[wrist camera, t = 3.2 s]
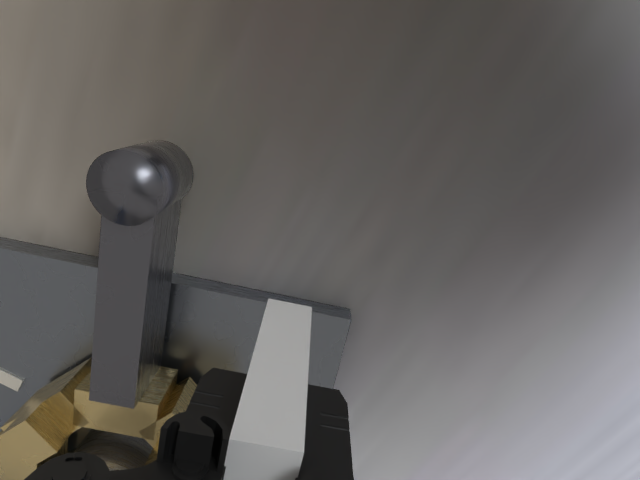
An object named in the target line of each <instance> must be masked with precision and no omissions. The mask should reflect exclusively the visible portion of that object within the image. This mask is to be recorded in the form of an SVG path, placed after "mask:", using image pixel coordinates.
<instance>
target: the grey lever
mask: <svg viewBox="0 0 640 480" xmlns="http://www.w3.org/2000/svg"><path fill="white" fill-rule="evenodd" d="M192 182H193V168H192V164H191V162H190V160H189V158H188V156H187V155H186V154H185V152H184V151H183V150H182V149H180V148H179V147H178V146H176V145H175V144H173V143H170V142H167V141H162V140H155V141H150V142H146V143H142V144H138V145H134V146H129V147H125V148H121V149H117V150H113V151H109V152H106V153H104V154H102V155H101V156H99V157H98V158H97V159H96V160H95V161H94V162H93V163H92V165H91V166H90V168H89V170H88V174H87V179H86V187H87V192H88V196H89V198H90V201H91V202H92V204H93V206H94V207H95V209H96V210H97V211H98V212H99V213H100V214H101V215H102V216H101V231H100V245H99V260H98V274H97V289H96V304H95V318H94V333H93V348H92V357H91V358H89V359H88V360H86V361H84V362H83V363H81V364H80V365H78V366H76V367H75V368H73V369H72V370H70V371H68V372H67V373H65V374H63V375H62V376H60V377H59V378H57V379H55V380H54V381H52V382H51V383H49V384H47V385H46V386H44V387H42V388H41V389H39V390H38V391H37V392H36V393H35V394H34V395H33V396H32V397H31V398H30V399H29V400H28V401H27V402H26V403H25V404H24V405H23V406H22V407H21V408H20V409H19V410H18V411H17V412H16V413H15V414H14V415H13V416H12V417H11V418H10V419H9V420H8V421H7V422H6V423H5V424H4V425H3V426H2V427H1V429H2V431H1V432H0V480H24V479H25V478H26V477H28V476H29V475H30V474H31V473H32V472H33V471H35V470H36V469H37V468H38V467H39V466H41V465H42V464H44V463H46V462H47V461H49V460H50V459H52V458H54V457H57V456H60V455H63V454H66V453H68V437H69V436H70V435H71V434H72V433H73V432H74V431H76V430H78V429H80V428H81V427H86V428H91V429H96V430H102V431H107V432H112V433H118V434H123V435H128V436H134V437H139V438H144V439H145V440H146V441H147V442H148V443H149V444H150V445H151V446H152V447H153V449H152V451H151V453H150V455H149V457H148V459H147V461H146V463H145V465H147V464H150V463H152V462H154V461H155V460H157V453H158V445H159V438H160V430H161V427H162V426H163V424H164V423H165V422H166V421H167V420H168V419H169V418H171V417H173V416H174V415H176V414H178V413H182V412H186V409H187V407H188V405H189V404H190V400H191V398H192V396H193V394H194V392H195V389H196V387H197V384H196V383H195V382H194V381H193V379H192V378H191V377H188V378H186V379H185V380H183V381H181V382H179V383H178V384H176V382H177V375H178V370H177V369H172V368H167V367H162V366H161V361H162V353H163V345H164V337H165V328H166V320H167V312H168V304H169V296H170V288H171V280H172V272H173V264H174V256H175V248H176V240H177V232H178V224H179V216H180V208H181V200H182V198H183V197H184V196H185V195H186V194H187V193H188V191H189V190H190V188H191V185H192Z"/></svg>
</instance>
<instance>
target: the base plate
mask: <svg viewBox="0 0 640 480" xmlns="http://www.w3.org/2000/svg"><path fill="white" fill-rule="evenodd" d="M98 260H99V257H95V256H90V255H85V254H80V253H75V252H70V251H66V250H61V249H56V248H51V247H46V246H41V245H36V244H32V243H27V242H22V241H17V240H12V239H7V238H3V237H0V432H1V431H2V429H1V427H2V426H3V425H4V424H5V423H6V422H7V421H8V420H9V419H10V418H11V417H12V416H13V415H14V414H15V413H16V412H17V411H18V410H19V409H20V408H21V407H22V406H23V405H24V404H25V403H26V402H27V401H28V400H29V399H30V398H31V397H32V396H33V395H34V394H35V393H36V392H37V391H38V390H39V389H41V388H42V387H44V386H46V385H47V384H49V383H51V382H52V381H54V380H55V379H57V378H59V377H60V376H62V375H63V374H65V373H67V372H68V371H70V370H72V369H73V368H75V367H76V366H78V365H80V364H81V363H83V362H84V361H86V360H88V359H89V358H91V357H92V348H93V333H94V318H95V304H96V289H97V274H98ZM268 298H270V299H275V300H280V301H284V302H289V303H294V304H299V305H304V306H309V307H312V315H311V334H310V352H309V371H308V384H310V385H315V386H320V387H325V388H331V389H333V386H334V383H335V379H336V375H337V371H338V368H339V364H340V360H341V356H342V353H343V349H344V345H345V341H346V338H347V334H348V330H349V326H350V323H351V313H350V309H347V308H342V307H337V306H332V305H328V304H323V303H318V302H313V301H308V300H303V299H298V298H294V297H289V296H284V295H279V294H274V293H269V292H264V291H260V290H255V289H250V288H245V287H240V286H235V285H231V284H226V283H221V282H216V281H211V280H206V279H201V278H197V277H192V276H187V275H182V274H177V273H172V280H171V288H170V296H169V304H168V312H167V320H166V328H165V337H164V345H163V353H162V361H161V366H162V367H167V368H172V369H177V370H178V375H177V382H176V384H178V383H179V382H181V381H183V380H185V379H186V378H188V377H191V378H192V379H193V381H194V382H195V383H196V384H197V385H198V382H199V380H200V378H201V377H202V376H203V375H204V374H206V373H207V372H208V371H209V370H211V369H212V368H219V369H224V370H229V371H234V372H240V373H245V374H247V373H248V370H249V366H250V363H251V359H252V355H253V352H254V348H255V345H256V341H257V338H258V334H259V330H260V327H261V323H262V320H263V316H264V312H265V309H266V305H267V302H268ZM152 449H153V447H152V446H151V445H150V444H149V443H148V442H147V441H146V440H145V439H144V438H139V437H134V436H128V435H123V434H118V433H112V432H107V431H102V430H96V429H91V428H86V427H81V428H80V429H78V430H76V431H74V432H73V433H72V434H71V435H70V436H69V437H68V453H75V452H85V453H90V454H94V455H97V456H98V457H100V458H101V459H102V460H104V461H105V462H106V464H107V466H108V468H109V470H110V471H113V470H124V469H132V468H137V467H142V466H144V465H145V463H146V461H147V459H148V457H149V455H150V453H151V451H152Z"/></svg>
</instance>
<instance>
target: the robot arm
mask: <svg viewBox="0 0 640 480" xmlns="http://www.w3.org/2000/svg"><path fill="white" fill-rule="evenodd" d="M311 315H312V307H309V306H304V305H299V304H294V303H289V302H284V301H280V300H275V299H270V298H268V302H267V305H266V309H265V312H264V316H263V320H262V323H261V327H260V330H259V334H258V338H257V341H256V345H255V348H254V352H253V355H252V359H251V363H250V366H249V370H248V373H247V374H245V373H240V372H234V371H229V370H224V369H219V368H212V369H211V370H209V371H208V372H207V373H206V374H204V375H203V376H202V377H201V378H200V380H199V382H198V385H197V387H196V389H195V392H194V394H193V396H192V398H191V400H190V404H189V405H188V407H187V409H186V412H182V413H178V414H176V415H174V416H173V417H171V418H169V419H168V420H167V421H166V422H165V423H164V424H163V426H162V427H161V430H160V438H159V445H158V453H157V460H155V461H154V462H152V463H150V464H147V465H144V466H142V467H137V468H132V469H124V470H113V471H110V470H109V468H108V466H107V464H106V462H105V461H104V460H102V459H101V458H100V457H98V456H97V455H94V454H90V453H85V452H75V453H66V454H63V455H60V456H57V457H54V458H52V459H50V460H49V461H47V462H46V463H44V464H42V465H41V466H39V467H38V468H37V469H36V470H35V471H33V472H32V473H31V474H30V475H29V476H28V477H26V478H25V479H24V480H354V478H353V469H352V457H351V444H350V432H349V420H348V407H347V402H346V401H345V399H344V397H343V396H342V394H341V393H340V391H339V390H336V389H331V388H325V387H320V386H315V385H310V384H308V371H309V352H310V334H311Z"/></svg>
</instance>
